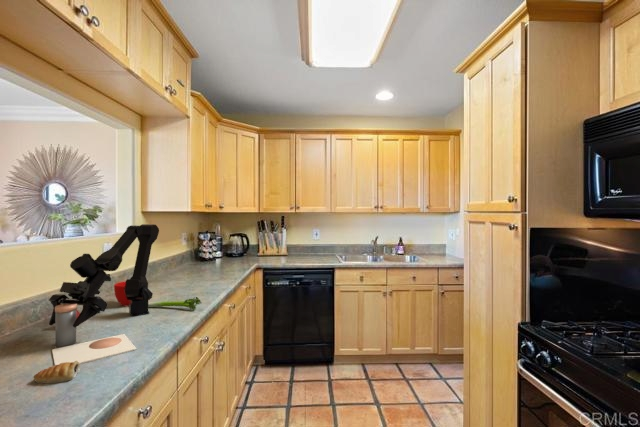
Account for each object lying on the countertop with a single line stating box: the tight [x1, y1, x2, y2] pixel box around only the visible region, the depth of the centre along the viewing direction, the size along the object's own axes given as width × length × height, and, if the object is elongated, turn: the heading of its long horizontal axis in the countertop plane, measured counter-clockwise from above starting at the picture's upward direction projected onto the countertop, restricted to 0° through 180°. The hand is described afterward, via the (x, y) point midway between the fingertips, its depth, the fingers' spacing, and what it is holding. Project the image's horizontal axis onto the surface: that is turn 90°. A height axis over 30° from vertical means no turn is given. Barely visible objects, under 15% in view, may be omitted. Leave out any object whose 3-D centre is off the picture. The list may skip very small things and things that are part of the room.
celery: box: [148, 296, 202, 311], centre depth 148 cm, size 6×7×30 cm
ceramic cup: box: [113, 280, 131, 307], centre depth 155 cm, size 13×17×10 cm
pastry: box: [33, 361, 81, 384], centre depth 85 cm, size 9×7×4 cm
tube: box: [54, 303, 78, 349], centre depth 107 cm, size 6×6×13 cm
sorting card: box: [51, 333, 137, 365], centre depth 102 cm, size 20×17×1 cm
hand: (62, 325), depth 105 cm, fingers open, 9 cm apart
